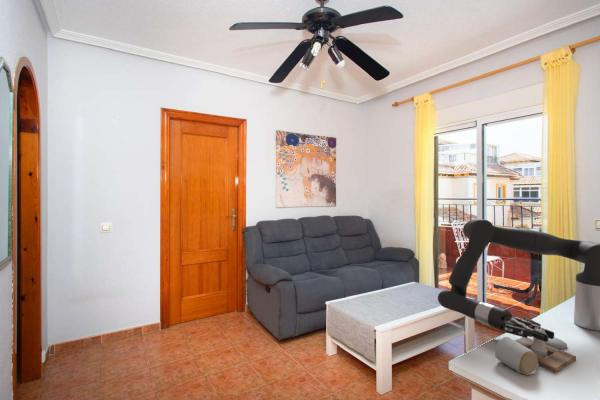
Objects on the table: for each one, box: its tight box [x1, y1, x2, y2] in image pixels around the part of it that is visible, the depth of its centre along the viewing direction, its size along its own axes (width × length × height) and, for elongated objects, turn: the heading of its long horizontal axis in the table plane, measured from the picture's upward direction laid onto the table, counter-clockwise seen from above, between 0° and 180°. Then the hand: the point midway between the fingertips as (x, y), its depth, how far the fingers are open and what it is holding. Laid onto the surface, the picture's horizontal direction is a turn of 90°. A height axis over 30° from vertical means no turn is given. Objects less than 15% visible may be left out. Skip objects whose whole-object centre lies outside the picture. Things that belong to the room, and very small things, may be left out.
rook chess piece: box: [530, 327, 549, 358], centre depth 95 cm, size 4×4×8 cm
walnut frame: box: [514, 337, 577, 374], centre depth 95 cm, size 14×14×1 cm
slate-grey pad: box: [532, 336, 568, 351], centre depth 103 cm, size 9×9×1 cm
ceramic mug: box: [494, 336, 539, 376], centre depth 88 cm, size 11×8×8 cm
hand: (550, 337), depth 92 cm, fingers closed on rook chess piece, 3 cm apart
